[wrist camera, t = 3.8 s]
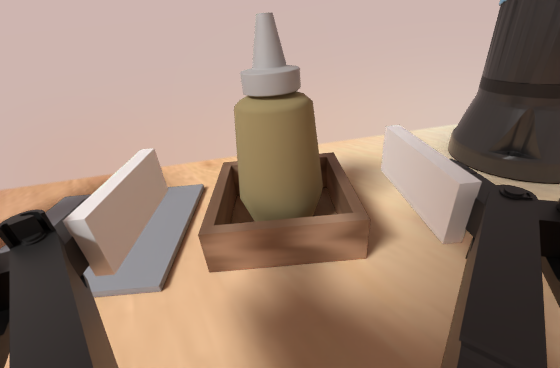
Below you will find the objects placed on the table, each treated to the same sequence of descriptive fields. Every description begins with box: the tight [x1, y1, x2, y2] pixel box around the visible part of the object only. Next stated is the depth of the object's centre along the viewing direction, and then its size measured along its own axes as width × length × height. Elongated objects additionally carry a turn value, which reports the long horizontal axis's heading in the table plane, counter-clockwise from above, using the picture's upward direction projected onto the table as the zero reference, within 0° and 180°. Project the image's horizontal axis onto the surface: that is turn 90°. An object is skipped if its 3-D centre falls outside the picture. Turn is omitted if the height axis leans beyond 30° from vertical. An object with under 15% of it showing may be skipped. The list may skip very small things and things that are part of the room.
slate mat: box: [0, 184, 204, 297], centre depth 28 cm, size 18×16×1 cm
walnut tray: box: [198, 152, 370, 272], centre depth 27 cm, size 13×13×4 cm
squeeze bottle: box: [234, 13, 323, 222], centre depth 23 cm, size 8×8×18 cm
